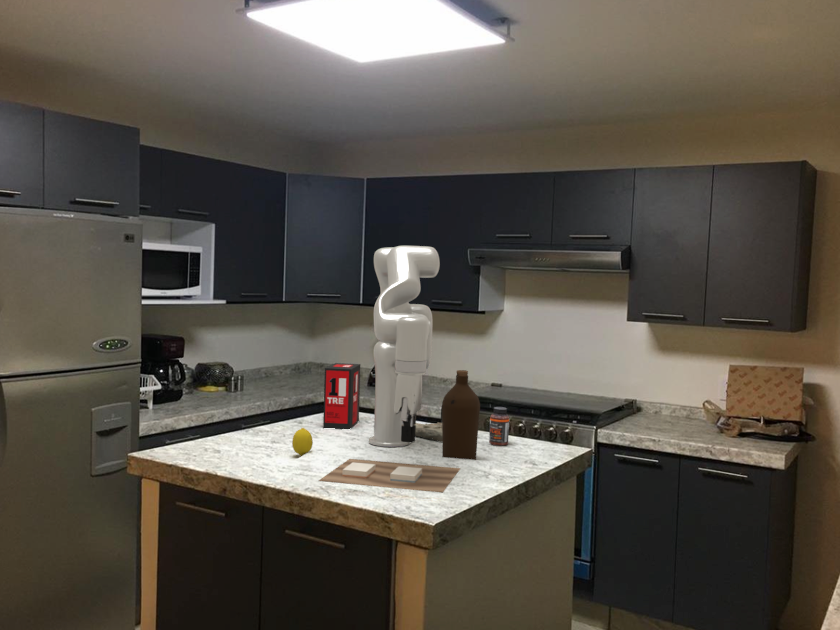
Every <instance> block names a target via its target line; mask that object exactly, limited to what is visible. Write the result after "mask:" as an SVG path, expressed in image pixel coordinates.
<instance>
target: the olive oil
mask: <svg viewBox="0 0 840 630" xmlns="http://www.w3.org/2000/svg"><path fill="white" fill-rule="evenodd" d="M468 374H469V371H468V370H467V369H466V370H464V369H457V370H456V375H455V384H454V385H453V386H452V387H451V389H449V390H448V391H447V392H446V393H445V395H444V397H443V400H442V403H441V419H442V420H441V423H442V437H443V442H442V445H441V446H442V452H441V453H442V454H441V455H442V458H446V459H447V458H448V459H457V460H459V459H460V460H469V461H470V460H473V461H476V460H477V451H478V450H477V449H478V448H477V447H478V434H479V425H480V424H479V422H480V413H481V412H480V411H481V402H480V399H479V396H478V394H476V392H475V391H474V390H473V389H472V387H471V386H470V385H469V375H468Z"/></svg>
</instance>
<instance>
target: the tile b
mask: <svg viewBox="0 0 840 630" xmlns="http://www.w3.org/2000/svg"><path fill="white" fill-rule="evenodd" d="M421 475H422V468H412V467H401V466H399V467H397V468H396V469H395V470H394V471H393V472H392V473H391V474H390V481H401V482H412V483H415V482H416V481H417V480H418V478H419V477H420V476H421Z"/></svg>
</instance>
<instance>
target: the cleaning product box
mask: <svg viewBox="0 0 840 630" xmlns="http://www.w3.org/2000/svg"><path fill="white" fill-rule="evenodd" d="M323 382H324V385H323V386H324V387H323V388H324V390H323V392H324V393H323V419H322V420H323V421H322V422H323V423H322V427H323V428H322V429H324V428H335V429H334V430H342V429H350V428H351V429H353V427H354V426H355V425H356V424H358V423H359V420H360V397H361V396H360V393H361V392H360V390H361V389H360V388H361V387H360V386H361V363H341V362H340V363H339V362H338V363H337V362H335V363H332V364H330V365H329V366H327V367H325V368H324V381H323ZM351 429H350V430H351Z"/></svg>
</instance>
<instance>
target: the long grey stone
mask: <svg viewBox="0 0 840 630" xmlns="http://www.w3.org/2000/svg"><path fill="white" fill-rule="evenodd" d="M415 425H416V432H415V438H418V437H419V438H423V439H425V440H429V441H436V442H439V443H443V437H442V422H437V423H419V422H418V423H417V422H416V424H415Z"/></svg>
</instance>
